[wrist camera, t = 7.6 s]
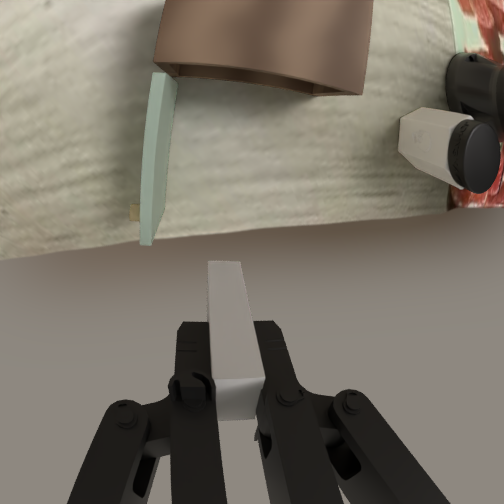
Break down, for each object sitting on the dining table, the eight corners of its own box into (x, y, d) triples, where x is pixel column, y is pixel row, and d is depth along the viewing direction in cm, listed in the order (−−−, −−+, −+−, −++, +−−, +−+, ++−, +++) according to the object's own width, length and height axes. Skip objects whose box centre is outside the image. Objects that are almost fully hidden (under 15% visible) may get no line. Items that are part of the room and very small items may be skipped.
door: (154, 82, 24) (132, 72, 16) (178, 83, 24) (166, 72, 16) (142, 207, 30) (122, 243, 22) (164, 208, 30) (151, 245, 23)
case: (328, 21, 23) (373, -2, 14) (317, 96, 27) (362, 95, 18) (185, -3, 19) (178, -44, 11) (170, 76, 24) (153, 61, 15)
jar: (398, 101, 28) (467, 110, 18) (440, 112, 29) (504, 127, 19) (393, 166, 32) (456, 196, 22) (434, 170, 34) (493, 199, 23)
